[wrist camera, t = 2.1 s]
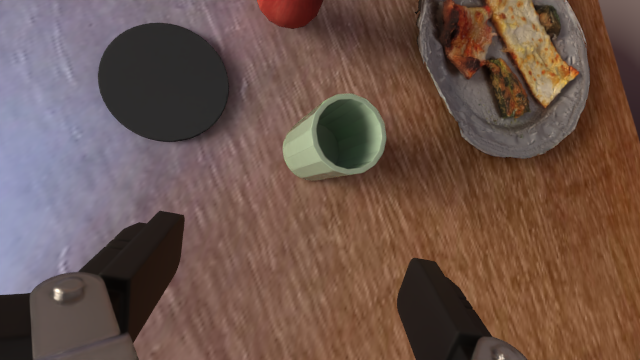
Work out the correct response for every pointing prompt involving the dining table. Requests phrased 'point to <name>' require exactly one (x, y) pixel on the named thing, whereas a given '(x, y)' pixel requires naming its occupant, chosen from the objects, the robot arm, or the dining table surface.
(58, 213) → the dining table surface
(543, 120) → the food plate
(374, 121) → the cup
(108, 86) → the coaster
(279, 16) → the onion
